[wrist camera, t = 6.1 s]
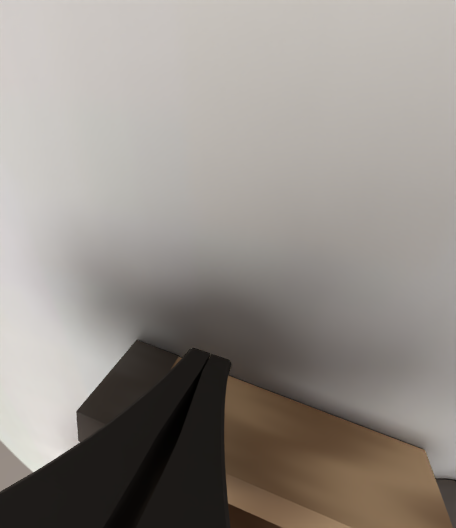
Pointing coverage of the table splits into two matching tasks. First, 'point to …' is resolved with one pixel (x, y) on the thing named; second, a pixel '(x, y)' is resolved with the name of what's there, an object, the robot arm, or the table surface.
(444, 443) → the table surface
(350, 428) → the wooden bar grey ends
